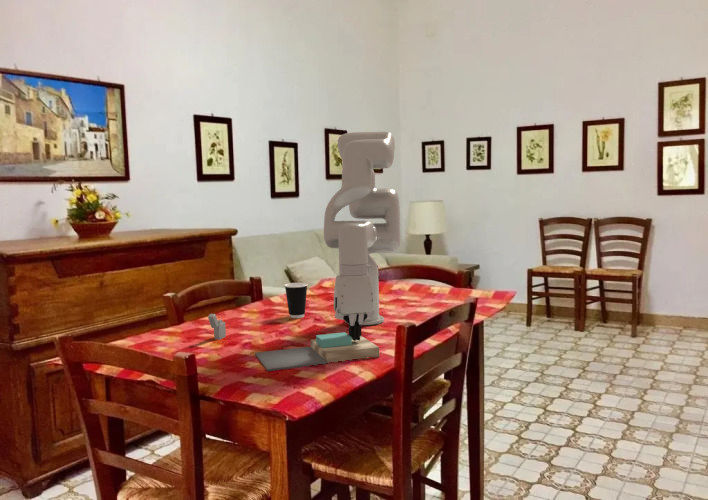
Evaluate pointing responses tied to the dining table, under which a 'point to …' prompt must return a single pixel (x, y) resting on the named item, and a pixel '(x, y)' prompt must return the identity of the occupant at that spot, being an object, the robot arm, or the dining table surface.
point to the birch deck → (347, 350)
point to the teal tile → (333, 340)
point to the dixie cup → (296, 299)
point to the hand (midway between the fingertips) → (355, 339)
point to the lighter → (217, 327)
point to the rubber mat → (290, 358)
